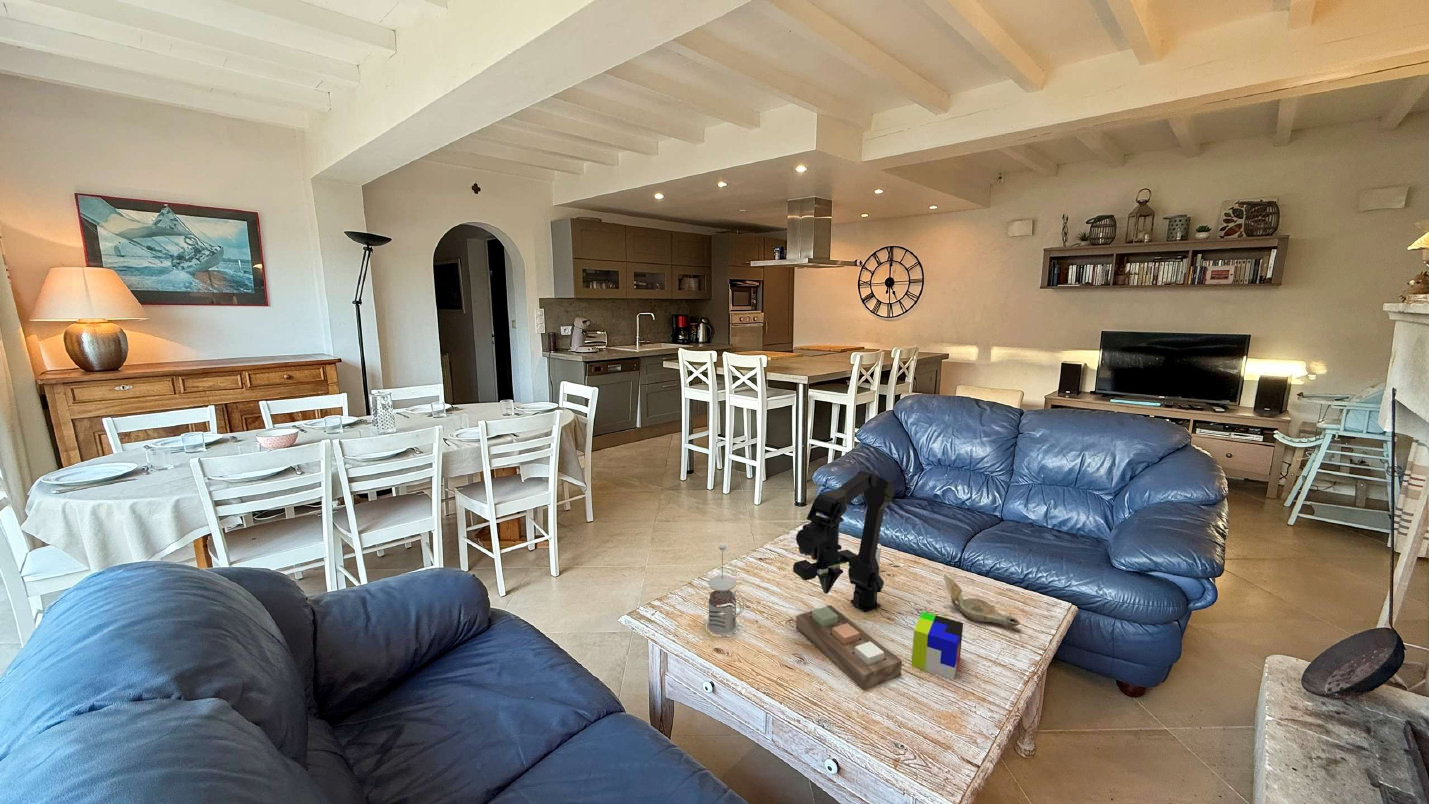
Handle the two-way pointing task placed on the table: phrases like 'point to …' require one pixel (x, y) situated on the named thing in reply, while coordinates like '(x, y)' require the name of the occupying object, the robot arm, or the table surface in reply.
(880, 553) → the drinking glass
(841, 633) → the terracotta key
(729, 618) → the french press
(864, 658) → the white square block
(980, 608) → the oil lamp
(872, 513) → the robot arm
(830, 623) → the pale green square block
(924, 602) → the table surface
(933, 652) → the puzzle toy
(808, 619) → the key console
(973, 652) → the table surface
